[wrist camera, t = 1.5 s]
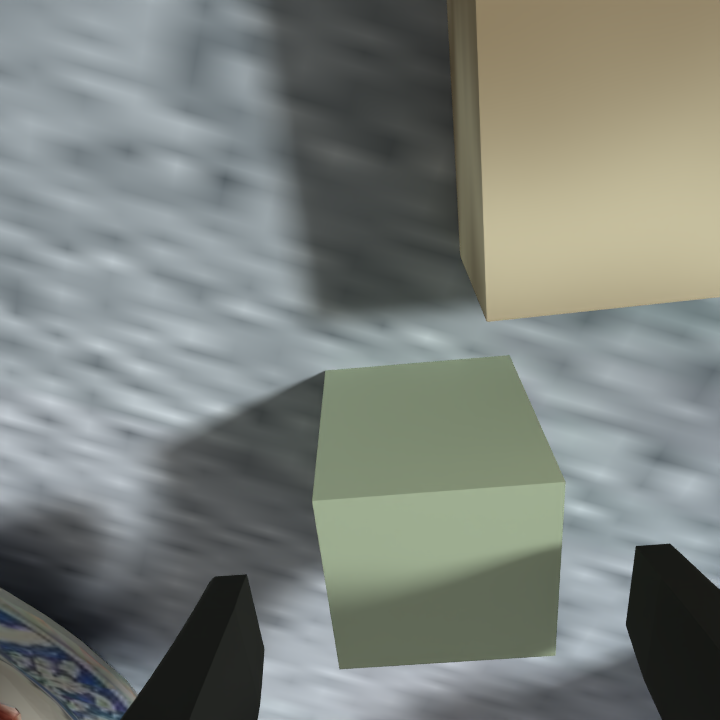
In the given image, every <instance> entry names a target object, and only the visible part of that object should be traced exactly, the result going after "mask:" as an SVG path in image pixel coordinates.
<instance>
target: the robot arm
mask: <svg viewBox="0 0 720 720" xmlns="http://www.w3.org/2000/svg"><path fill="white" fill-rule="evenodd" d="M626 627H627V630H628V633H629V636H630V639H631V642H632V646H633V649H634V652H635V655H636V658H637V661H638V664H639V666H640V669H641V672H642V675H643V678H644V681H645V683H646V685H647V687H648V690H649V692H650V694H651V696H652V699H653V701H654V703H655V705H656V707H657V709H658V712H659V714H660V716H661V718H662V720H720V590H719V589H718V588H717V587H716V586H715V585H714V584H713V583H712V582H711V581H710V580H709V579H708V578H706V577H705V576H704V575H703V574H702V573H701V572H700V571H699V570H698V569H697V568H696V567H695V566H694V565H693V564H692V563H690V562H689V561H688V560H687V559H686V558H685V557H684V556H683V555H682V554H681V553H680V552H679V551H678V550H676V549H675V548H674V547H673V546H672V545H671V544H659V545H645V546H636V550H635V557H634V565H633V573H632V581H631V588H630V596H629V604H628V612H627V619H626ZM263 662H264V645H263V641H262V637H261V633H260V628H259V624H258V620H257V616H256V612H255V607H254V603H253V599H252V595H251V590H250V586H249V582H248V578H247V574H245V575H232V576H218V577H214V578H213V579H212V580H211V581H210V583H209V584H208V586H207V588H206V590H205V591H204V593H203V595H202V597H201V598H200V600H199V602H198V603H197V605H196V607H195V608H194V610H193V612H192V613H191V615H190V617H189V618H188V620H187V622H186V623H185V625H184V627H183V628H182V630H181V631H180V633H179V635H178V636H177V638H176V639H175V641H174V643H173V644H172V646H171V647H170V649H169V650H168V652H167V653H166V655H165V656H164V658H163V659H162V661H161V662H160V664H159V665H158V667H157V668H156V670H155V671H154V673H153V674H152V676H151V677H150V679H149V680H148V682H147V683H146V685H145V686H144V687H143V689H142V690H141V692H140V693H139V694H138V696H137V697H136V698H135V700H134V701H133V703H132V704H131V705H130V707H129V708H128V709H127V711H126V712H125V714H124V715H123V716H122V718H121V719H120V720H257V719H258V713H259V708H260V699H261V688H262V676H263Z"/></svg>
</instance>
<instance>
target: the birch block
mask: <svg viewBox="0 0 720 720" xmlns="http://www.w3.org/2000/svg"><path fill="white" fill-rule="evenodd" d="M447 13H448V32H449V51H450V70H451V89H452V108H453V127H454V146H455V165H456V184H457V203H458V222H459V241H460V257H461V259H462V262H463V264H464V266H465V269H466V271H467V274H468V276H469V279H470V281H471V284H472V286H473V289H474V291H475V294H476V296H477V299H478V301H479V303H480V306H481V308H482V311H483V313H484V316H485V318H486V321H487V322H490V321H499V320H508V319H518V318H527V317H537V316H546V315H555V314H565V313H574V312H583V311H593V310H602V309H612V308H621V307H630V306H640V305H649V304H659V303H668V302H677V301H687V300H696V299H706V298H715V297H720V0H447Z"/></svg>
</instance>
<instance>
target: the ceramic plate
mask: <svg viewBox="0 0 720 720" xmlns="http://www.w3.org/2000/svg"><path fill="white" fill-rule="evenodd" d="M137 696H138V694H137V693H136V691H135V690H134V689H133V688H132V687H131V685H130V684H129V683H128V682H127V681H126V680H125V679H124V678H123V677H122V676H121V675H120V674H118V673H117V672H116V671H115V670H114V669H113V668H112V667H110V666H109V665H108V664H107V663H106V662H105V661H104V660H102V659H101V658H100V657H99V656H98V655H97V654H96V653H94V652H93V651H92V650H91V649H90V648H89V647H88V646H86V645H85V644H84V643H83V642H82V641H81V640H79V639H78V638H77V637H75V636H74V635H73V634H71V633H70V632H69V631H67V630H66V629H65V628H63V627H62V626H60V625H59V624H57V623H56V622H55V621H53V620H52V619H50V618H49V617H47V616H46V615H44V614H43V613H41V612H39V611H38V610H36V609H35V608H33V607H31V606H30V605H28V604H26V603H25V602H23V601H22V600H20V599H18V598H17V597H15V596H13V595H12V594H10V593H9V592H7V591H5V590H4V589H2V588H0V720H120V719H121V718H122V716H123V715H124V714H125V712H126V711H127V709H128V708H129V707H130V705H131V704H132V703H133V701H134V700H135V698H136V697H137Z"/></svg>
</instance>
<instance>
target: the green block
mask: <svg viewBox="0 0 720 720" xmlns="http://www.w3.org/2000/svg"><path fill="white" fill-rule="evenodd" d="M564 498H565V480H564V478H563V475H562V473H561V471H560V469H559V466H558V464H557V462H556V460H555V457H554V455H553V453H552V451H551V448H550V446H549V444H548V441H547V439H546V437H545V435H544V432H543V430H542V428H541V426H540V423H539V421H538V419H537V417H536V414H535V412H534V410H533V408H532V405H531V403H530V401H529V399H528V396H527V394H526V392H525V390H524V387H523V385H522V383H521V380H520V378H519V376H518V374H517V371H516V369H515V367H514V365H513V362H512V360H511V358H510V356H509V355H507V356H495V357H483V358H471V359H459V360H447V361H435V362H423V363H411V364H399V365H387V366H375V367H363V368H351V369H339V370H327V371H325V380H324V389H323V399H322V409H321V419H320V429H319V438H318V448H317V458H316V468H315V478H314V487H313V497H312V503H313V509H314V516H315V522H316V528H317V534H318V540H319V546H320V552H321V558H322V565H323V571H324V577H325V583H326V589H327V595H328V601H329V607H330V614H331V620H332V626H333V632H334V638H335V644H336V650H337V656H338V662H339V669H351V668H367V667H383V666H399V665H415V664H430V663H446V662H462V661H478V660H494V659H509V658H525V657H541V656H555V651H556V634H557V617H558V600H559V583H560V566H561V549H562V532H563V515H564Z"/></svg>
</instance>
